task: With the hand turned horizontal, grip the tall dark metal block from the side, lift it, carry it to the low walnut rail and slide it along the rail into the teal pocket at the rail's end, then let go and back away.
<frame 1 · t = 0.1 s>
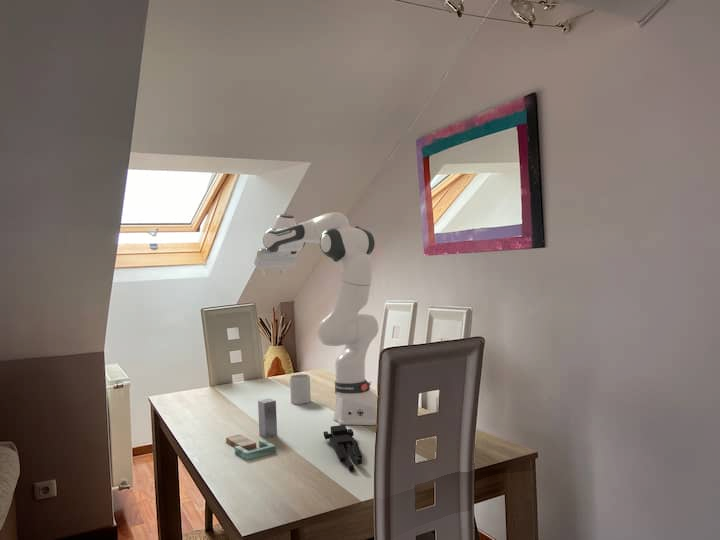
hand: (272, 275, 250), 54 cm above the table, tool tilted 30°, fingers open, 8 cm apart
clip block: (268, 435, 190), on the table
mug: (300, 401, 235), on the table
toy: (346, 455, 168), on the table
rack: (254, 451, 173), on the table
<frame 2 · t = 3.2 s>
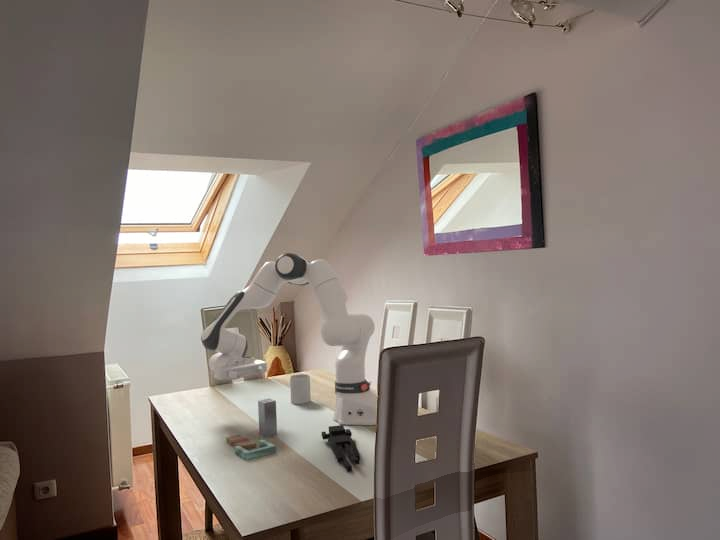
hand: (249, 373, 199), 20 cm above the table, tool horizontal, fingers open, 8 cm apart
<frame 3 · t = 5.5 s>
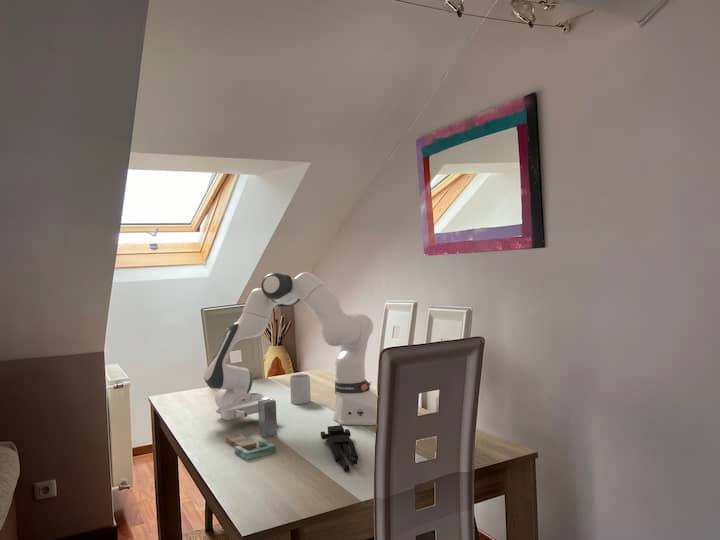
hand: (257, 412, 196), 6 cm above the table, tool horizontal, fingers open, 8 cm apart
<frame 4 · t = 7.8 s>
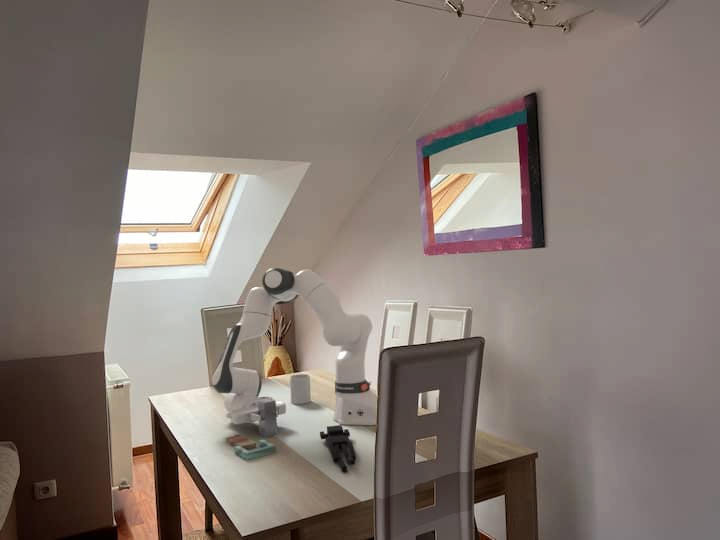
hand: (268, 416, 189), 7 cm above the table, tool horizontal, fingers closed on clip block, 4 cm apart
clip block: (268, 434, 190), on the table, touching gripper
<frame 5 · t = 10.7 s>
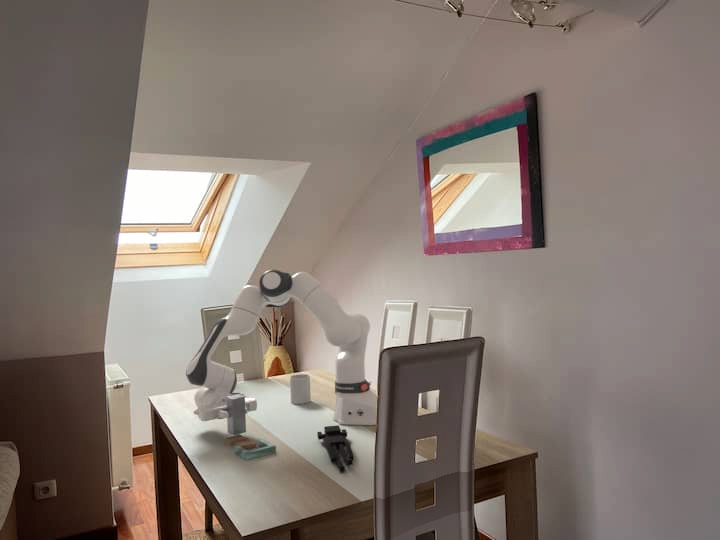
hand: (237, 413, 182), 10 cm above the table, tool horizontal, fingers closed on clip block, 4 cm apart
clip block: (236, 432, 182), point 4 cm above the table, touching gripper
when the fingers open (8 cm above the table, at t = 13.8 s): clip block drops 1 cm, resting in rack.
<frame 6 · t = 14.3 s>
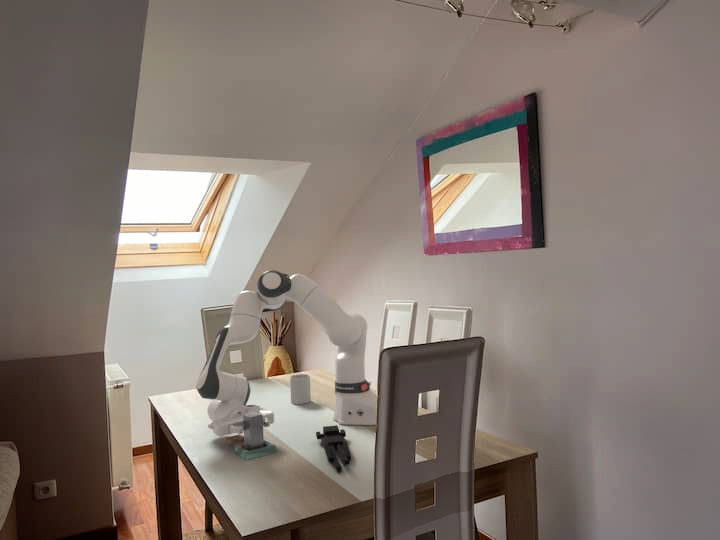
hand: (254, 427, 172), 8 cm above the table, tool horizontal, fingers open, 8 cm apart
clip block: (254, 451, 173), resting in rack
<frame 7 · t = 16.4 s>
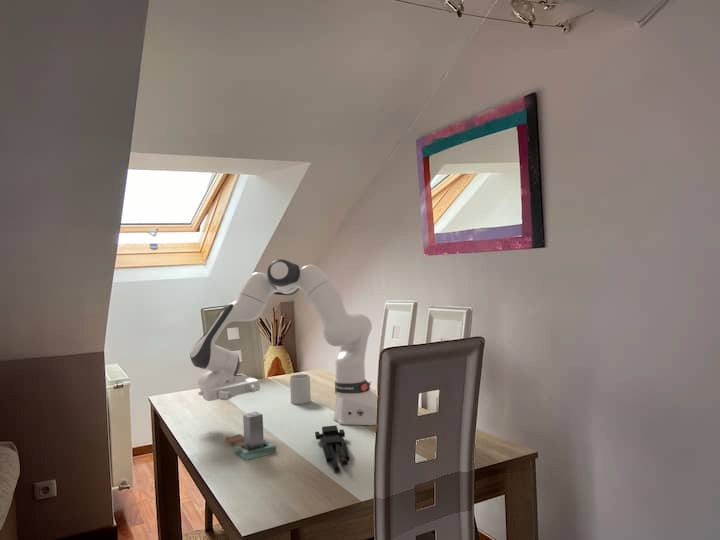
hand: (241, 392, 186), 16 cm above the table, tool horizontal, fingers open, 8 cm apart
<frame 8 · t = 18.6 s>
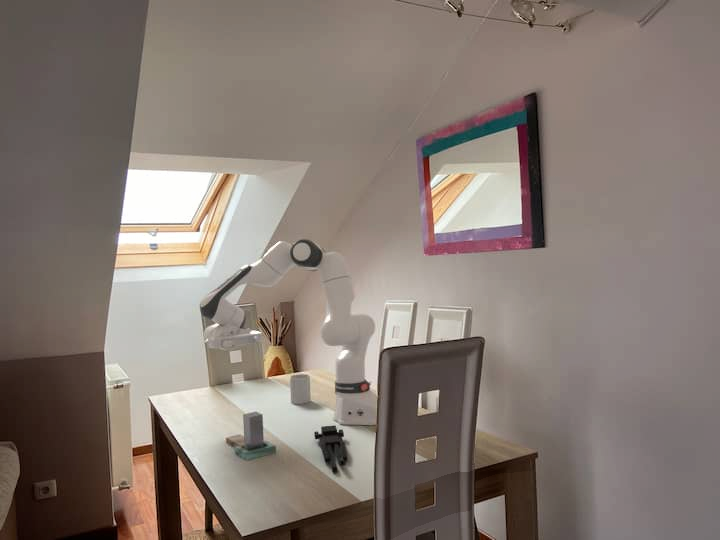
hand: (244, 342, 194), 32 cm above the table, tool horizontal, fingers open, 8 cm apart
at the end: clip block 0.1 cm from the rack (horizontally); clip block tilted 0°; the gripper is holding nothing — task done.
